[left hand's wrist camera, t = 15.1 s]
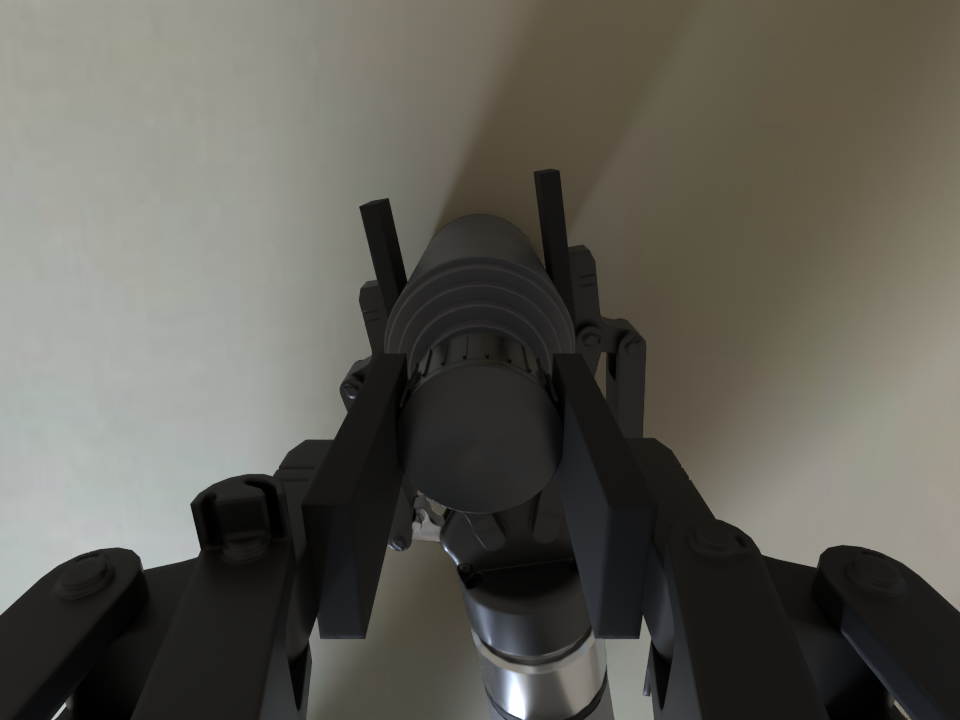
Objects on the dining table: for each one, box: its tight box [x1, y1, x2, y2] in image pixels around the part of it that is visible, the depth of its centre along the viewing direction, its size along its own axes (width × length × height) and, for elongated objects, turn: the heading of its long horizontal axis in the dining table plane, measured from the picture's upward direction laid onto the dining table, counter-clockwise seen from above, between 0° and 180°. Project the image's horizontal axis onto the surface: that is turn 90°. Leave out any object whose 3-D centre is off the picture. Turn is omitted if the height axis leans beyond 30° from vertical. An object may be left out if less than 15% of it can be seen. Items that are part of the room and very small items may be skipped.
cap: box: [396, 332, 564, 513], centre depth 13 cm, size 4×4×2 cm
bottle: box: [384, 214, 575, 379], centre depth 21 cm, size 6×6×18 cm
